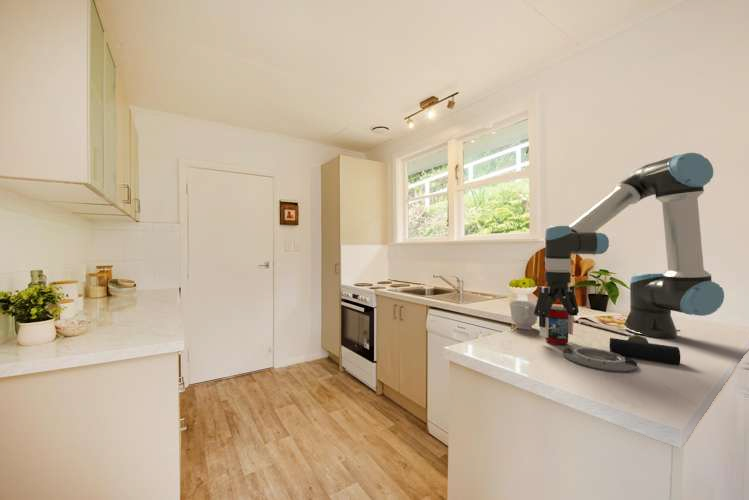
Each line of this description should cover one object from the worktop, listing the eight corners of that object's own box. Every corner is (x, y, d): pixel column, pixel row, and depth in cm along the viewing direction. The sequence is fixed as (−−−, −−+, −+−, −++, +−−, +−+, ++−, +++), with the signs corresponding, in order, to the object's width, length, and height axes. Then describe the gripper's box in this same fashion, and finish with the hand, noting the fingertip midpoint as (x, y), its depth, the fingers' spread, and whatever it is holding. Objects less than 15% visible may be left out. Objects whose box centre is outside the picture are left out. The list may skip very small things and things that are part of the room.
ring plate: (587, 348, 98) (587, 342, 98) (651, 367, 82) (651, 361, 82) (549, 354, 91) (550, 348, 91) (611, 376, 76) (611, 369, 76)
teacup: (510, 331, 116) (510, 305, 116) (506, 323, 130) (506, 299, 130) (545, 335, 112) (545, 308, 112) (537, 325, 126) (537, 301, 126)
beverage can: (552, 345, 99) (553, 309, 99) (540, 339, 106) (541, 305, 106) (572, 346, 100) (573, 309, 100) (559, 339, 106) (560, 305, 106)
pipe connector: (607, 330, 101) (668, 338, 92) (607, 346, 101) (668, 355, 92) (611, 339, 91) (680, 349, 83) (611, 357, 91) (680, 368, 83)
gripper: (570, 269, 111) (569, 329, 111) (522, 270, 102) (521, 335, 102) (591, 271, 104) (590, 334, 104) (542, 272, 95) (541, 341, 95)
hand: (556, 335), depth 103 cm, fingers open, 11 cm apart
